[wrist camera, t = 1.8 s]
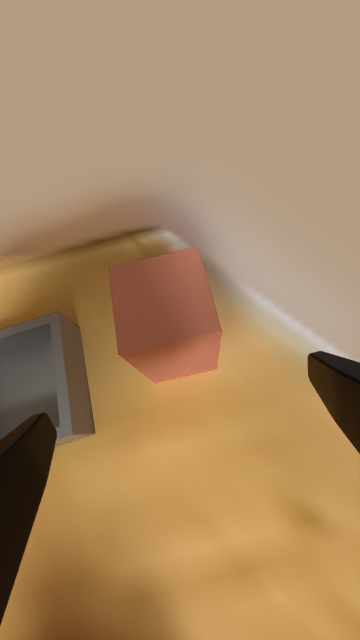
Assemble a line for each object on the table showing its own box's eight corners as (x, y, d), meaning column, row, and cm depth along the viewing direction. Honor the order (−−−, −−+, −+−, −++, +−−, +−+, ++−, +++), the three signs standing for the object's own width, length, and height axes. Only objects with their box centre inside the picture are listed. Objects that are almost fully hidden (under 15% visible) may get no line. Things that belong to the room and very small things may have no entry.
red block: (216, 369, 20) (221, 330, 12) (155, 383, 20) (118, 354, 12) (201, 313, 22) (197, 246, 14) (145, 326, 22) (108, 267, 14)
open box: (95, 433, 19) (72, 434, 16) (-21, 470, 19) (-67, 479, 16) (79, 327, 23) (58, 311, 20) (-19, 358, 23) (-56, 347, 20)
